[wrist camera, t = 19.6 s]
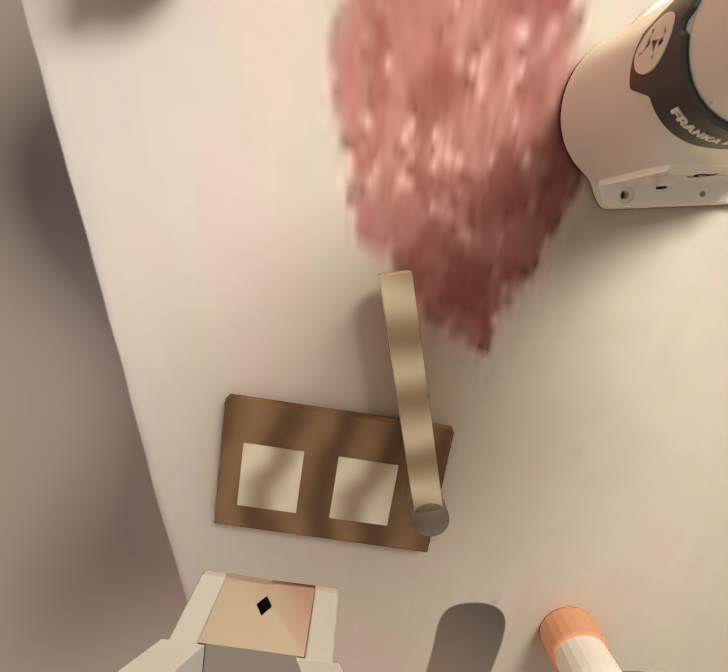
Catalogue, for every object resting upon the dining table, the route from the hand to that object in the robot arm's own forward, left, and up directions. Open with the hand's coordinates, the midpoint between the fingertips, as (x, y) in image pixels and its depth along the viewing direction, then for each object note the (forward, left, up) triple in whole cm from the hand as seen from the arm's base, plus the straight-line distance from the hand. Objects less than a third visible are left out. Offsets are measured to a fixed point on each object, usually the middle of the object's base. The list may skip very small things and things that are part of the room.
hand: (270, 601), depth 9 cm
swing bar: (-8, +7, -34) cm, 35 cm away
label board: (-1, +18, -36) cm, 41 cm away
